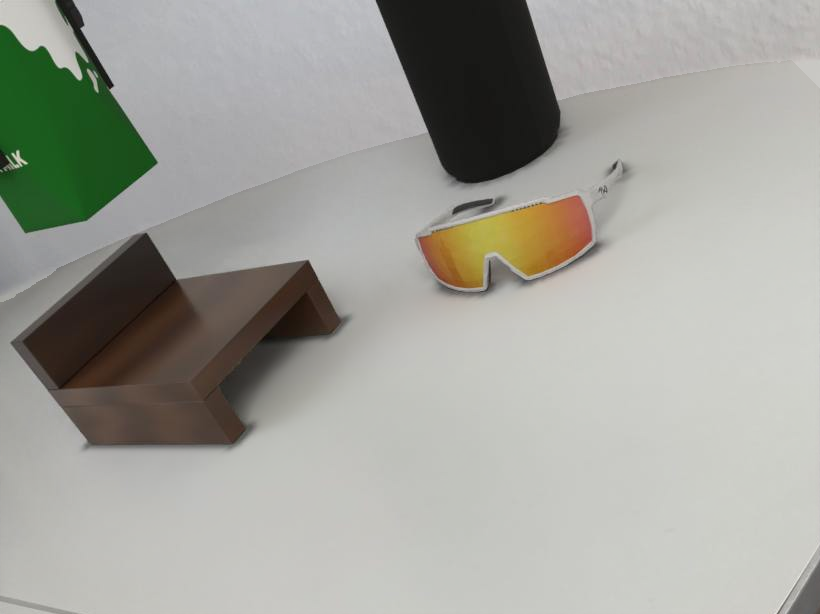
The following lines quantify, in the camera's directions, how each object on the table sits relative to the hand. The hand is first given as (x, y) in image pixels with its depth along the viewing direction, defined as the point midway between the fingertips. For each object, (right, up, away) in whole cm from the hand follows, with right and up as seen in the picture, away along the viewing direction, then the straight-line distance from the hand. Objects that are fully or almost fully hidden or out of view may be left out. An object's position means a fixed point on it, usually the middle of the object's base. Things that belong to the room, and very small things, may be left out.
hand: (47, 129), depth 61 cm
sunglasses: (+30, -3, +9) cm, 32 cm away
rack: (+7, -13, +12) cm, 19 cm away
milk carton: (+2, -3, +3) cm, 5 cm away
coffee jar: (+29, +9, +22) cm, 38 cm away
